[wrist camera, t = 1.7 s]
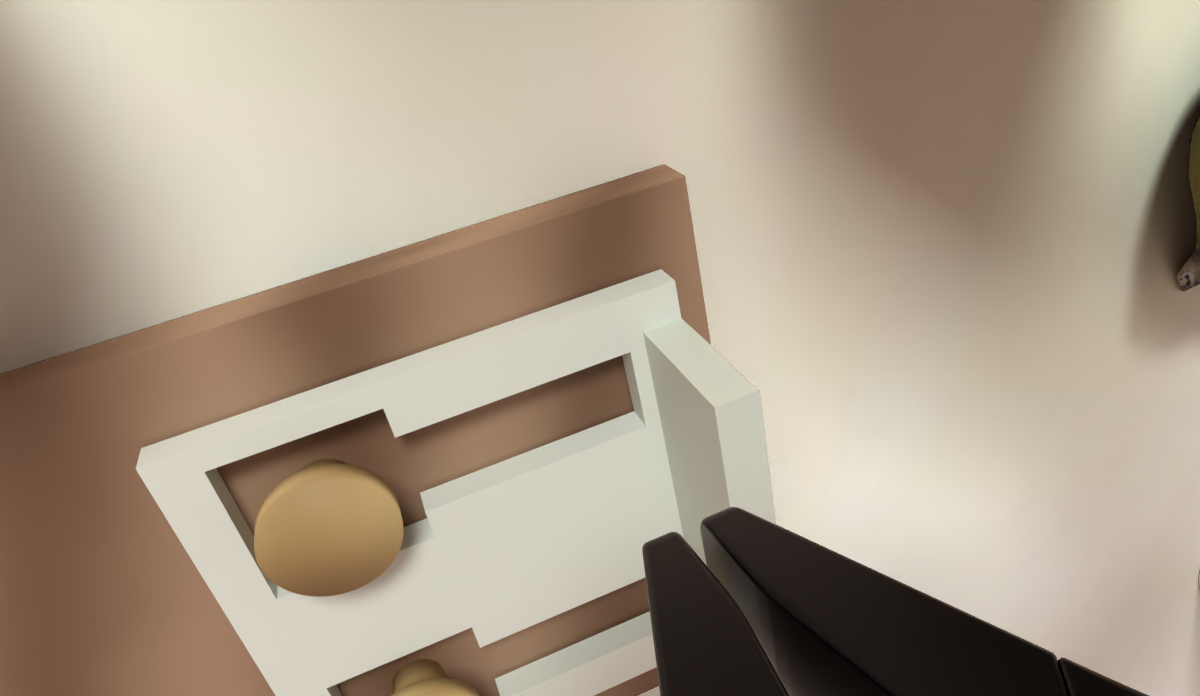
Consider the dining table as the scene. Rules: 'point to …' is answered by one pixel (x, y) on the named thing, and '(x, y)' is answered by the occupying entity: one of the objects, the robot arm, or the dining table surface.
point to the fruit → (1196, 267)
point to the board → (305, 453)
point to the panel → (492, 497)
